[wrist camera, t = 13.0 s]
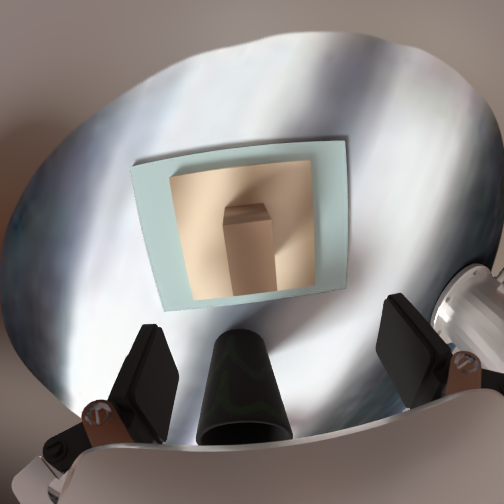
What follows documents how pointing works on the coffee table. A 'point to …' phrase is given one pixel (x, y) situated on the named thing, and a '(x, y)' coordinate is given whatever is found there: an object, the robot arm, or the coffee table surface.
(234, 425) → the cup
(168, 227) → the mat
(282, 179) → the lid
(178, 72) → the coffee table surface
